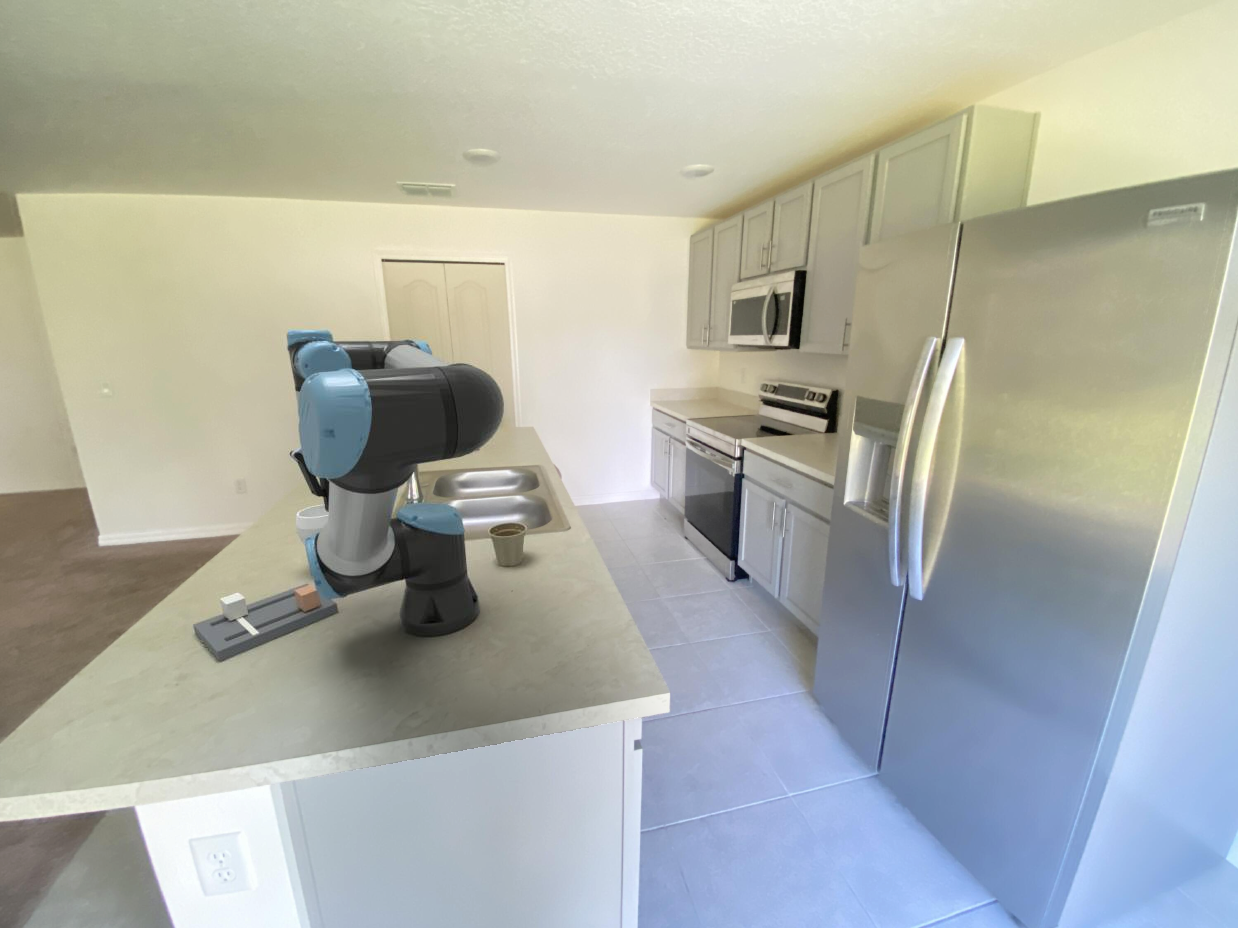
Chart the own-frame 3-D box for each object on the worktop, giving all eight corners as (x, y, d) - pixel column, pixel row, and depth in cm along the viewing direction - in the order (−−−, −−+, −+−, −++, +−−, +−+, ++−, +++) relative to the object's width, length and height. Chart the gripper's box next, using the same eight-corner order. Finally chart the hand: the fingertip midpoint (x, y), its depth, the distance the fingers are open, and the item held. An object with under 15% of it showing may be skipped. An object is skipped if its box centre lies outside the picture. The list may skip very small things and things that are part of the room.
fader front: (320, 605, 101) (318, 589, 100) (304, 611, 98) (301, 595, 98) (313, 599, 103) (310, 584, 102) (297, 605, 101) (294, 590, 100)
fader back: (248, 614, 98) (244, 598, 97) (229, 620, 95) (226, 604, 94) (241, 608, 100) (238, 592, 99) (223, 614, 97) (219, 598, 97)
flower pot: (483, 567, 122) (480, 534, 120) (500, 551, 131) (498, 520, 129) (518, 571, 120) (516, 538, 118) (534, 555, 129) (532, 523, 126)
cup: (332, 580, 115) (322, 520, 112) (293, 576, 118) (282, 516, 114) (363, 561, 126) (355, 504, 122) (327, 557, 128) (318, 501, 124)
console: (338, 612, 103) (336, 602, 102) (219, 661, 87) (217, 651, 87) (308, 591, 111) (307, 582, 110) (195, 633, 95) (192, 623, 95)
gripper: (346, 406, 104) (361, 512, 110) (276, 414, 94) (296, 530, 100) (364, 409, 100) (379, 519, 106) (292, 418, 90) (313, 539, 96)
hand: (339, 524), depth 103 cm, fingers closed
